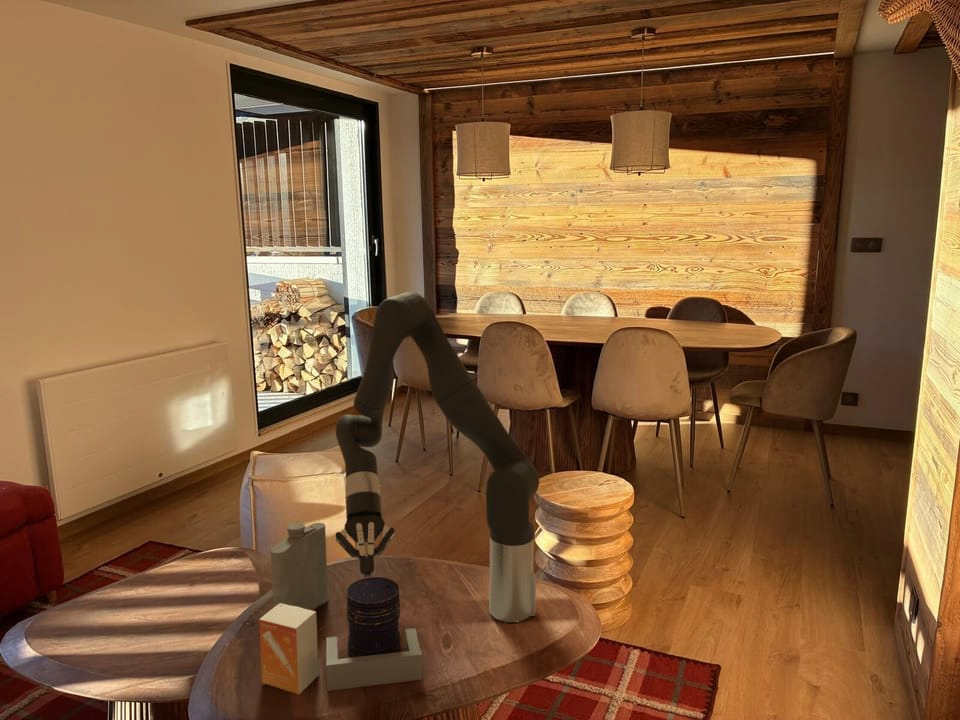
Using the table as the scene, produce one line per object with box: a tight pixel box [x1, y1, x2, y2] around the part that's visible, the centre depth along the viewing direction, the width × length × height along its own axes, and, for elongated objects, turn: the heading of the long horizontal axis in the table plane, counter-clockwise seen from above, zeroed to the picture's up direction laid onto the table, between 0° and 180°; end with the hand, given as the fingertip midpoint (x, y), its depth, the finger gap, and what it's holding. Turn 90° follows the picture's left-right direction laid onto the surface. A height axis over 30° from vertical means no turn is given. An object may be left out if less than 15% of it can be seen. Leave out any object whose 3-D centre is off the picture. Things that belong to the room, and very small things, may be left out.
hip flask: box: [270, 521, 329, 611], centre depth 153 cm, size 16×4×20 cm, turn 156°
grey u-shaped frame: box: [325, 628, 423, 692], centre depth 136 cm, size 17×10×5 cm, turn 102°
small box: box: [258, 603, 319, 695], centre depth 131 cm, size 8×6×13 cm
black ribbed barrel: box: [346, 576, 402, 658], centre depth 136 cm, size 10×10×15 cm
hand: (367, 575), depth 149 cm, fingers closed
